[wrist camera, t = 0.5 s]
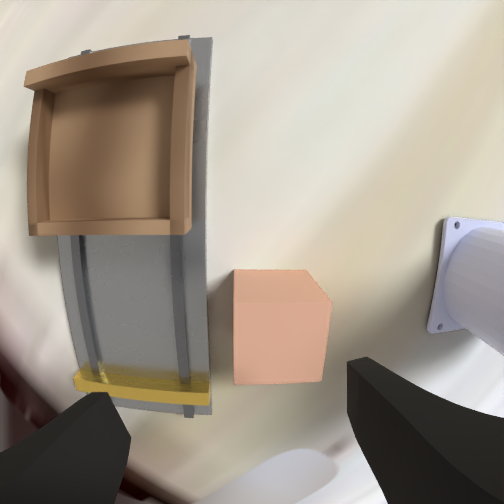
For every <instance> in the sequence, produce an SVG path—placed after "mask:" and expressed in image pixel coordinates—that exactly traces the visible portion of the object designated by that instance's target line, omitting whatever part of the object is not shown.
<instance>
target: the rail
mask: <svg viewBox="0 0 504 504" xmlns="http://www.w3.org/2000/svg"><path fill="white" fill-rule="evenodd" d="M185 39H188V41H189V44H190V47H191V50H192V53H193V56H194V59H195V62H196V65H197V70H196V84H195V101H194V121H193V147H192V201H191V225H192V228H191V229H190V230H189V231H188V232H187V233H186V234H185V235H58V248H59V258H60V267H61V275H62V283H63V290H64V296H65V302H66V308H67V313H68V319H69V324H70V329H71V334H72V338H73V343H74V347H75V351H76V355H77V359H78V363H79V367H80V370H79V371H78V372H77V374H76V375H75V376H74V378H73V380H74V383H75V386H76V390H78V391H83V392H87V395H88V394H90V393H91V392H108V394H109V396H110V398H111V400H112V402H113V404H114V406H119V407H125V408H133V409H140V410H149V411H158V412H169V413H182V414H184V417H185V418H194V414H199V415H212V398H211V381H210V363H209V340H208V312H207V267H206V188H207V143H208V116H209V94H210V76H211V60H212V45H213V39H212V37H210V38H190V35H186V36H179V37H178V39H174V40H185ZM163 41H172V40H163ZM154 42H161V41H154ZM146 43H152V42H146ZM138 44H144V43H138ZM132 45H137V44H132ZM125 46H130V45H125ZM120 47H124V46H120ZM114 48H118V47H114ZM109 49H113V48H109ZM104 50H107V49H104ZM99 51H102V50H99ZM94 52H98V51H94ZM89 53H93V52H92V51H91V50H86V51H81V55H84V54H89ZM77 56H80V55H77ZM73 57H76V56H73ZM69 58H72V57H69Z"/></svg>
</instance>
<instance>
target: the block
mask: <svg viewBox="0 0 504 504" xmlns="http://www.w3.org/2000/svg"><path fill="white" fill-rule="evenodd" d="M331 309H332V301H331V299H330V298H329V297H328V296H327V295H326V293H325V292H324V291H323V290H322V288H321V287H320V286H319V285H318V284H317V282H316V281H315V280H314V279H313V277H312V276H311V275H310V274H309V273H308V271H307V270H242V269H234V385H246V384H285V383H303V382H317V381H321V380H322V374H323V368H324V361H325V354H326V347H327V340H328V333H329V325H330V317H331Z"/></svg>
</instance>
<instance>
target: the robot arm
mask: <svg viewBox="0 0 504 504" xmlns="http://www.w3.org/2000/svg"><path fill="white" fill-rule="evenodd" d="M455 222H456V227H454V224H455ZM439 324H440V325H439ZM438 325H439V327H438ZM437 327H438V328H437ZM460 329H467V330H469V331H470V332H471V333H473V334H474V335H476V336H477V337H478V338H480V339H481V340H483V341H484V342H485V343H487V344H488V345H490V346H491V347H492V348H494V349H495V350H497V351H498V352H499V353H501V354H502V355H503V356H504V222H495V221H487V220H478V219H469V218H459V217H446V218H445V220H444V223H443V231H442V241H441V250H440V257H439V265H438V271H437V278H436V284H435V289H434V295H433V300H432V305H431V310H430V315H429V319H428V324H427V331H428V332H430V333H431V334H435V333H442V332H448V331H454V330H460ZM347 414H348V417H349V419H350V423H351V426H352V428H353V431H354V434H355V437H356V440H357V442H358V444H359V446H360V448H361V450H362V452H363V454H364V456H365V458H366V460H367V462H368V464H369V466H370V468H371V470H372V472H373V473H374V475H375V477H376V479H377V481H378V483H379V485H380V487H381V489H382V491H383V493H384V496H385V498H386V500H387V503H388V504H504V418H501V417H497V416H492V415H489V414H485V413H481V412H478V411H475V410H472V409H469V408H466V407H463V406H460V405H458V404H455V403H452V402H450V401H448V400H446V399H443V398H441V397H439V396H437V395H434V394H432V393H430V392H428V391H426V390H424V389H422V388H420V387H418V386H416V385H415V384H413V383H411V382H409V381H407V380H406V379H404V378H402V377H400V376H399V375H397V374H395V373H394V372H392V371H390V370H388V369H387V368H385V367H384V366H382V365H380V364H379V363H377V362H375V361H374V360H372V359H370V358H368V357H363V358H359V359H355V360H352V361H348V362H347ZM130 442H131V436H130V434H129V433H128V431H127V429H126V427H125V425H124V423H123V421H122V420H121V418H120V416H119V414H118V412H117V410H116V408H115V406H114V404H113V402H112V400H111V398H110V396H109V394H108V392H91V393H90V394H88V395H86V396H85V397H83V398H82V399H80V400H79V401H77V402H76V403H74V404H73V405H72V406H70V407H69V408H68V409H66V410H65V411H64V412H62V413H61V414H59V415H58V416H57V417H55V418H54V419H53V420H51V421H50V422H49V423H47V424H46V425H44V426H43V427H42V428H40V429H39V430H37V431H36V432H34V433H33V434H31V435H30V436H28V437H27V438H25V439H24V440H22V441H21V442H19V443H17V444H16V445H14V446H12V447H10V448H8V449H7V450H5V451H3V452H1V453H0V504H114V502H115V499H116V496H117V493H118V490H119V487H120V484H121V481H122V478H123V474H124V471H125V468H126V465H127V460H128V455H129V449H130Z"/></svg>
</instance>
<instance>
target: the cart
mask: <svg viewBox="0 0 504 504" xmlns="http://www.w3.org/2000/svg"><path fill="white" fill-rule="evenodd" d="M196 70H197V65H196V62H195V59H194V56H193V53H192V50H191V47H190V44H189V41H188V39H185V40H172V41H161V42H152V43H144V44H137V45H130V46H124V47H118V48H113V49H107V50H102V51H98V52H93V53H89V54H84V55H80V56H76V57H72V58H68V59H65V60H61V61H58V62H54V63H51V64H47V65H44V66H41V67H38V68H35V69H32V70H29V71H27V72H26V77H25V82H24V87H26V88H29V89H31V90H34V91H35V92H34V99H33V106H32V114H31V123H30V133H29V146H28V168H27V202H28V224H29V236H50V235H185V234H186V233H187V232H188V231H189V230H190V229H191V228H192V225H191V201H192V147H193V121H194V101H195V84H196Z"/></svg>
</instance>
